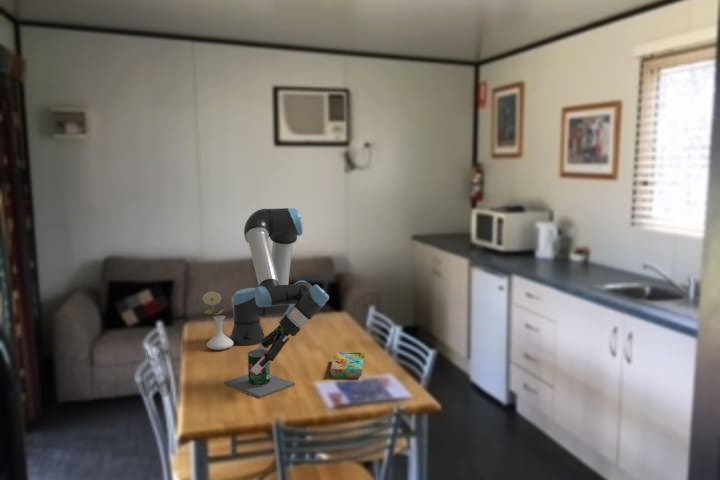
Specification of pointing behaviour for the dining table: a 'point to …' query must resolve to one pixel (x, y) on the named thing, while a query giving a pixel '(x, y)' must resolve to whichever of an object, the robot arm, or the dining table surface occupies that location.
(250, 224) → the robot arm
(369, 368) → the dining table surface
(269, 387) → the mat
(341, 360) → the puzzle game
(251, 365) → the canned tomato
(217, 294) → the flower in vase
